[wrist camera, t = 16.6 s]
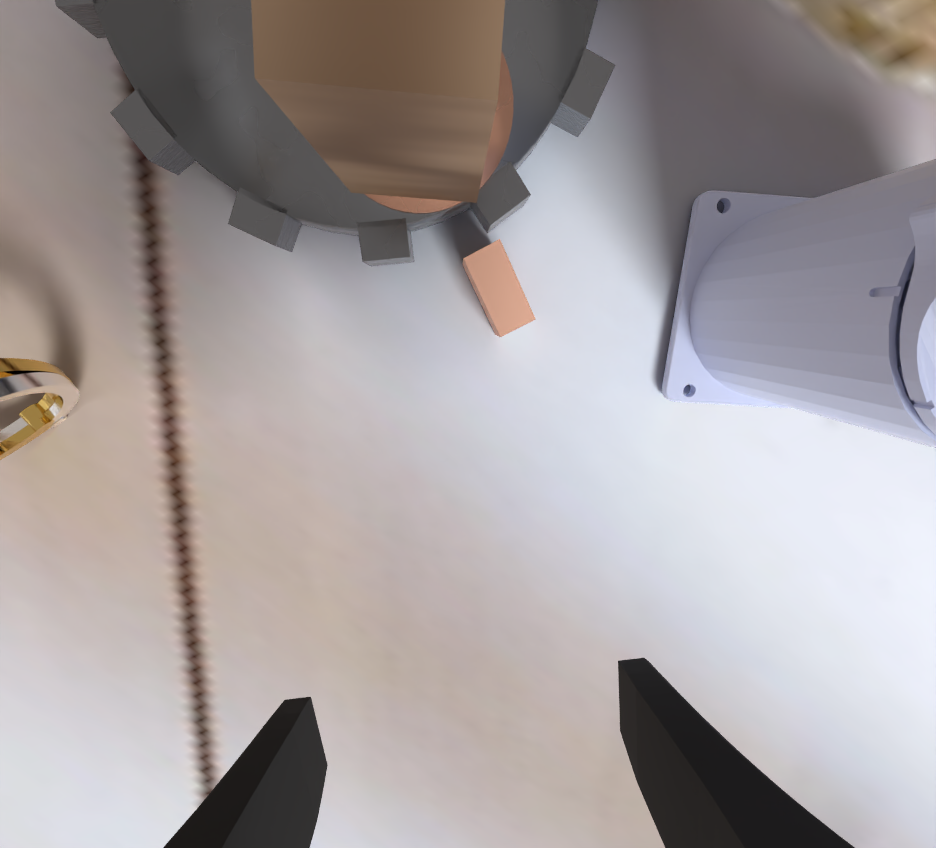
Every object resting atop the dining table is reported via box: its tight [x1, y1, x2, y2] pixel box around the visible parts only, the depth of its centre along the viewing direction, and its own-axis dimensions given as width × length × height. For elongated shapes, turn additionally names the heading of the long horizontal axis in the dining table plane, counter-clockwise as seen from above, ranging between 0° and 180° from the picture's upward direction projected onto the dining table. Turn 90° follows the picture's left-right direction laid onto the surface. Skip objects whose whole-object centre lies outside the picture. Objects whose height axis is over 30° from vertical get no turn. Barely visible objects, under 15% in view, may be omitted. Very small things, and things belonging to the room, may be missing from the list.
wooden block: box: [251, 0, 505, 203], centre depth 10 cm, size 4×5×7 cm
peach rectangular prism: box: [462, 239, 535, 337], centre depth 16 cm, size 3×1×2 cm, turn 26°
